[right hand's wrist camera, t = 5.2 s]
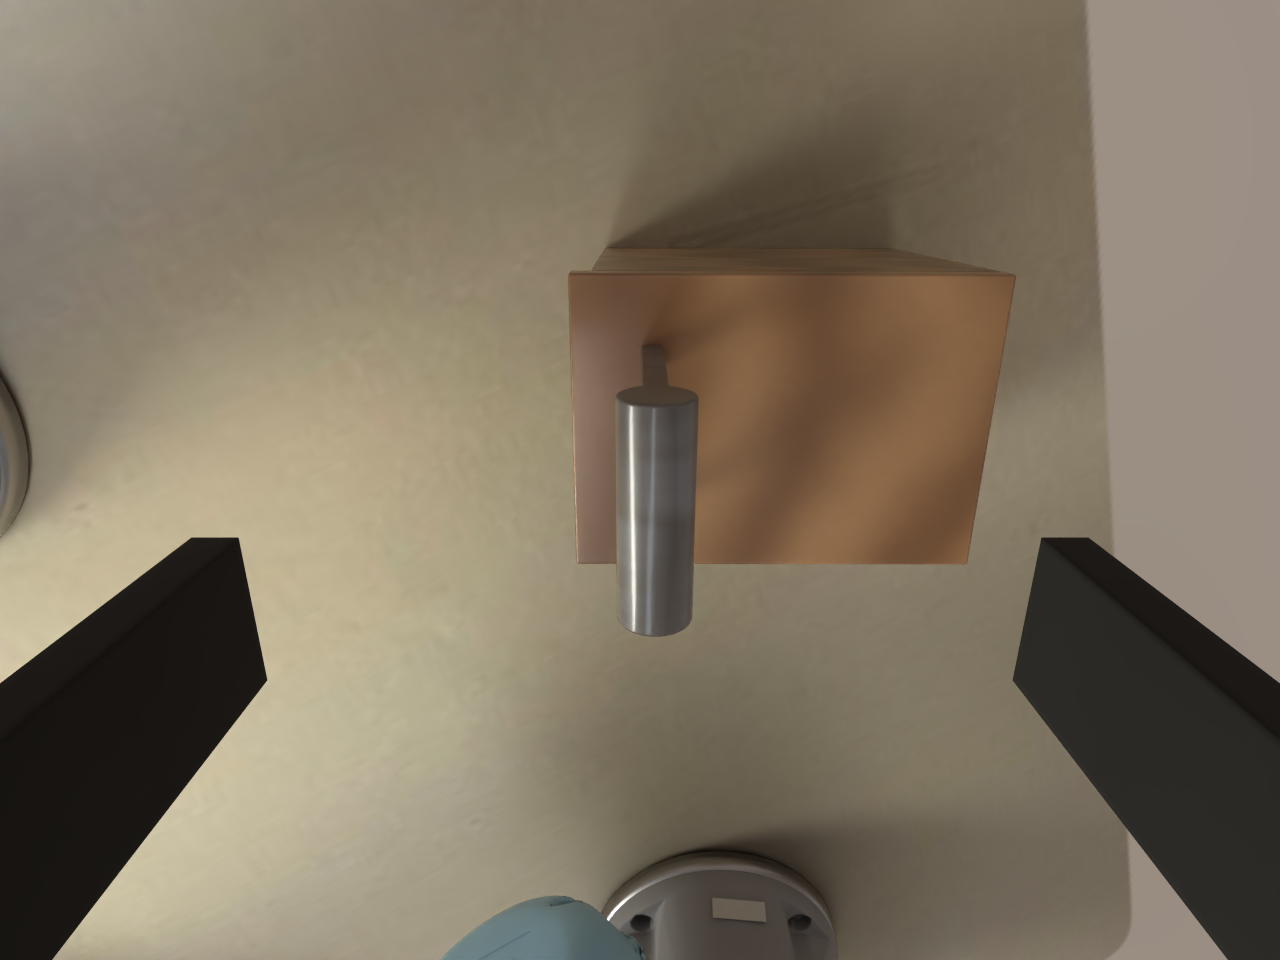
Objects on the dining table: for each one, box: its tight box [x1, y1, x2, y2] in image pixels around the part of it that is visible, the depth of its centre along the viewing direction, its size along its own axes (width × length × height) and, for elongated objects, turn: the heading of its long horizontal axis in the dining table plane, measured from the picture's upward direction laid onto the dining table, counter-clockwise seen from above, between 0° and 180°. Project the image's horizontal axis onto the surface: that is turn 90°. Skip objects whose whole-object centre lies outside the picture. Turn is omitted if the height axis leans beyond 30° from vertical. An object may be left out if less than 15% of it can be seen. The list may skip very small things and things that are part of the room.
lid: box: [568, 271, 1016, 636], centre depth 22 cm, size 14×10×9 cm
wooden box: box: [591, 248, 999, 272], centre depth 31 cm, size 13×10×11 cm
